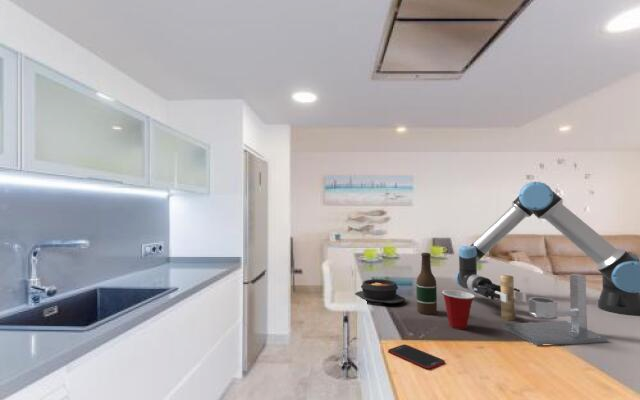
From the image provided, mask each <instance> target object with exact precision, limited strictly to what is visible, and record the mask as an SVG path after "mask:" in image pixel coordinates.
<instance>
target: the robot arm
mask: <svg viewBox="0 0 640 400" xmlns="http://www.w3.org/2000/svg"><path fill="white" fill-rule="evenodd" d="M532 215H534V216H535V217H537V218H538V219H540V220H546V221H547V223H549V224H550V225H551V226H552V227H554V228H555V229H556V230H557V231H558V232H559V233H561V234H562V235H563V236H564V237H565V238H567V240H568V241H570V242H571V243H573V245H575V246H576V247H577V248H579V250H580V251H581V252H583V253H584V254H585V255H586V256H587V257H589V258H590V259H591V261H593V262H594V263H595V264H596V270H597V271H598V272H600V273H601V274H602V275H601V279H602V280H601V281H602V282H601V283H602V290H601V293H600V295H599V299H598V300H597V307H598V308H599V309H601V310H603V311H607V312H612V313H617V314H623V315H632V316H640V258H639V255H638V254H636V253H633V254H632V253H629V252H628V251H627V250H625V249H620V248H616V247H615V246H614V245H612V244H611V242H609V241H608V240H606V239H605V238H604V237H603V236H602V235H600V234H599V233H598V232H597V231H595V230H594V229H593V228H592V227H591V226H589V225H588V224H587V223H586V222H585V221H583V220H582V219H581V218H580V217H578V215H576V214H575V213H573V212H572V211H571V210H570V209H569V208H567V206H565V205H564V204H563V198H562V197H560V196H559V195H558V194H557V193H556V192H554V191H553V190H552V189H551V187H550V186H549V185H547V184H546V183H545V182H542V181H531V182H528V183H526V184H525V185H523V186H522V188H520V190H519V192H518V196H517V198H515V199H514V200H513V201H512V203H511V207H509V208H508V209H507V210H506V211H505V212H504V213H503V214H502V215H501V216H500V217H498V219H497V220H495V221H494V222H493V223H492V225H490V226H489V227H488V229H486V230H485V231H484V232H483V233H482V234H481V235H480V236H479V237H478V238H477V239H476V240H475V241H473V242H472V243H471V245H461V246H460V247H459V248H458V258H459V259H458V265H459V269H458V271H457V273H456V275H455V277H454V279H455V283H456V284H457V285H458V286H460V287H462V288H463V289H466V290H468V291H471V292H473V293H475V294H476V295H481V296H482V297H484V298H490V300H492V301H494V300H495V299H496V300H498V301H500V302H501V301H503V302H506V303H508V295H506V294H503V293H501V284H500V285H499V284H495V283H493V282H492V280H491V279H490V278H488V277H484V276H482V275H479V274H478V269H477V268H478V267H477V266H478V265H477V263H478V262H479V261H480V260H481V259H482V258H483V257H485V255H486V254H487V253H488V252H490V251H491V249H493V248H494V247H495V246H496V245H498V243H499V242H500V241H501V240H502V239H503V238H505V237H506V236H507V235H508V234H509V233H510V232H511V231H512V230H514V229H515V228H516V227H517V226H518V225H519V224H520V223H521V222H522V221H523V220H525V218H530V217H531V216H532ZM527 297H528V296H527V294H526V293H525V292H521V290H520V289H518V288H516V287H514V299H515V300H516V299H517V300H519V301H522V302H524V303H525V302H527V301H528V300H527V299H528V298H527ZM527 303H528V302H527Z"/></svg>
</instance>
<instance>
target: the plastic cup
mask: <svg viewBox="0 0 640 400" xmlns="http://www.w3.org/2000/svg"><path fill="white" fill-rule="evenodd" d="M442 294H443V298H444V303H445V310H446V316H447V320H448V324H449V326H450V327H451V328H453V329H458V330H464V329H467V328H468V324H469V318H470V313H471V307H472V304H473V300H474V299H475V295H474V294H473V293H471V292H466V291H462V290H457V289H456V290H454V289H444V290H442Z"/></svg>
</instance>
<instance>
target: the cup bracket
mask: <svg viewBox="0 0 640 400" xmlns="http://www.w3.org/2000/svg"><path fill="white" fill-rule="evenodd" d="M586 277H587V276H586V274H582V273H581V274H580V273H569V289H570V291H569V292H570V293H569V295H570V308H565V309H563V308H562V309H559V308H558V300H555V299H552V298H550V297H548V298H547V297H541V296H535V297H534V296H533V297H532V296H531V297H529V298H528V313H529V315H530V316H532V317H534V318H538V319H545V320H554V319H555V320H556V319H558V318H562V317H570V322H569V321H566V320H561V321H560V320H559V321H558V320H557V321H538V322H518V323H517V322H516V323H514V322H513V323H502V329H503V330H505V331H507V332H509V333H511V335H512V334H513V335H514V334H515V336H516V337H519V338H520V339H523V340H524V341H526V340H527V341H526V342H528V341H529V342H528V343H530V342H531V343H533V344H535V345H543V344H557V345H556V346H560V345H561V346H562V345H577V344H578V345H581V344H593V343H594V344H596V343H608V336H605V335H602V334H600V333H597V332H595V331H592V330H589V329H588V317H587V316H588V313H587V312H588V310H587V281H586V280H587V279H586ZM531 343H530V344H531ZM533 344H532V345H533ZM535 345H534V346H535Z"/></svg>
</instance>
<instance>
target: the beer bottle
mask: <svg viewBox="0 0 640 400" xmlns="http://www.w3.org/2000/svg"><path fill="white" fill-rule="evenodd" d="M420 256H421V265H420V266H421V267H420V269H421V270H420V273H419V274H418V275H417V279H416V311H417V312H418V313H419V314H420V315H426V316H427V315H428V316H430V315H431V316H432V315H436V314H437V312H438V311H437V309H438V302H437V301H438V300H437V292H438V291H437V289H438V288H437V281H436V277H435V276H434V274H433V272H432V265H431V252H422V253H421V254H420Z"/></svg>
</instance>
